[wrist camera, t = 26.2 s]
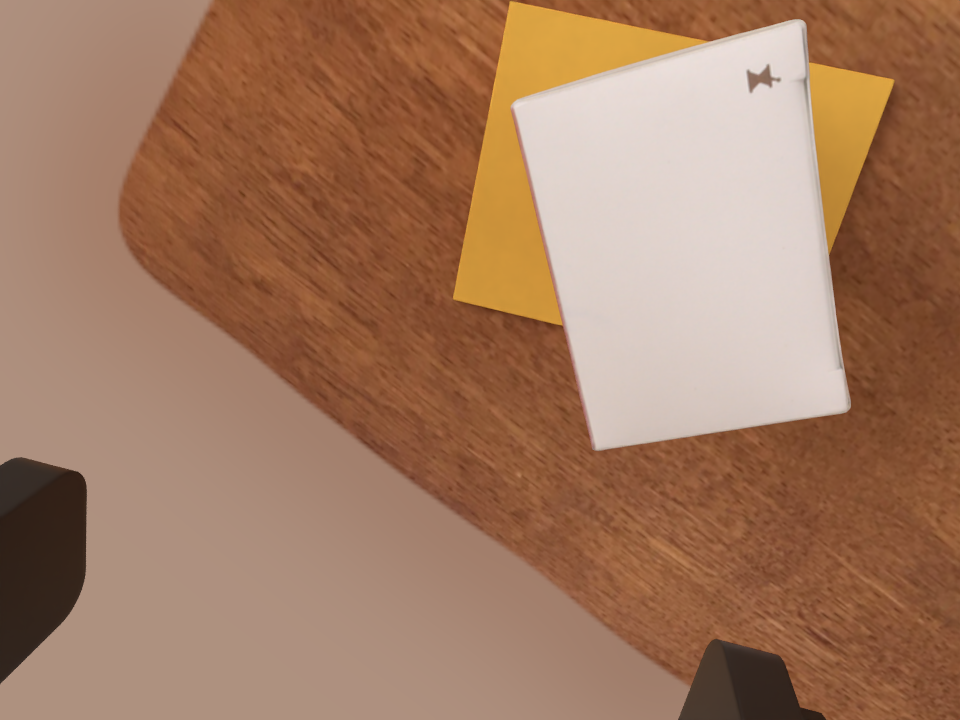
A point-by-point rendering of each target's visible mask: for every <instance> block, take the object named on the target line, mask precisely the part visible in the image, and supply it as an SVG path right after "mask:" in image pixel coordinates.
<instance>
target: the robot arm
mask: <svg viewBox="0 0 960 720" xmlns="http://www.w3.org/2000/svg"><path fill="white" fill-rule="evenodd" d="M86 501H87V489H86V482H85V479H84V477H83V476H82V475H81V474H80V473H79V472H76V471H73V470H69V469H65V468H61V467H57V466H53V465H49V464H45V463H41V462H38V461H34V460H29V459H26V458H22V457H21V458H14V459H11V460H9V461H7V462H5V463H4V464H2V465H0V683H1V682H2V681H4V680H5V679H6V677H8V676H9V675H10V674H11V673H12V672H13V671H14V670H15V669H16V668H17V667H18V666H19V665H20V664H21V663H22V662H23V661H24V660H25V659H26V658H27V657H28V656H29V655H30V654H31V653H32V652H33V651H34V650H35V649H36V648H37V647H38V646H39V645H40V644H41V643H42V642H43V641H44V640H45V639H46V638H47V637H48V636H49V635H50V634H51V633H52V632H53V631H54V630H55V629H56V628H57V627H58V626H59V625H60V624H61V623H62V622H63V621H64V620H65V619H66V617H67V616H68V615H69V613H70V612H71V610H72V609H73V607H74V605H75V603H76V601H77V599H78V597H79V595H80V592H81V590H82V587H83V583H84V579H85V572H86ZM678 720H826V719H825V717H824V716H823V715H822V714H821V713H819V712H815V711H812V710H808V709H804V708H800V706H799V703H798V700H797V697H796V694H795V692H794V689H793V686H792V683H791V680H790V677H789V674H788V671H787V669H786V666H785V664H784V661H783V660H782V658H781V657H780V656H779V655H776V654H772V653H768V652H764V651H761V650H757V649H753V648H749V647H745V646H741V645H737V644H734V643H730V642H726V641H722V640H718V639H714V640H713V641H711V642H710V644H709V645H708V647H707V648H706V650H705V653H704V655H703V658H702V660H701V663H700V665H699V668H698V670H697V673H696V676H695V678H694V681H693V683H692V686H691V688H690V691H689V694H688V696H687V699H686V702H685V704H684V706H683V709H682V711H681V714H680V717H679V719H678Z"/></svg>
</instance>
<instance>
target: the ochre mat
mask: <svg viewBox="0 0 960 720" xmlns="http://www.w3.org/2000/svg"><path fill="white" fill-rule="evenodd" d="M707 42H708V41H703V40H698V39H694V38H689V37H684V36H679V35H674V34H669V33H664V32H659V31H655V30H650V29H645V28H640V27H635V26H630V25H625V24H620V23H615V22H611V21H606V20H601V19H596V18H591V17H586V16H581V15H576V14H571V13H567V12H562V11H557V10H552V9H547V8H542V7H537V6H532V5H528V4H523V3H518V2H513V1H511V2H510V4H509V9H508V14H507V20H506V25H505V30H504V35H503V40H502V46H501V51H500V56H499V61H498V66H497V72H496V77H495V82H494V87H493V92H492V98H491V103H490V108H489V113H488V118H487V124H486V129H485V134H484V139H483V144H482V150H481V155H480V160H479V165H478V170H477V176H476V181H475V186H474V191H473V196H472V201H471V207H470V212H469V217H468V222H467V227H466V233H465V238H464V243H463V248H462V253H461V259H460V264H459V269H458V274H457V279H456V285H455V290H454V295H453V300H457V301H461V302H465V303H469V304H473V305H477V306H482V307H486V308H490V309H494V310H498V311H502V312H507V313H511V314H515V315H519V316H523V317H527V318H532V319H536V320H540V321H544V322H548V323H553V324H557V325H561V326H563V324H562V320H561V316H560V312H559V308H558V304H557V299H556V295H555V291H554V287H553V283H552V279H551V275H550V270H549V266H548V262H547V258H546V254H545V250H544V246H543V242H542V237H541V233H540V229H539V225H538V221H537V217H536V212H535V208H534V204H533V200H532V195H531V191H530V187H529V183H528V178H527V174H526V170H525V166H524V162H523V158H522V154H521V150H520V146H519V142H518V137H517V133H516V129H515V125H514V120H513V117H512V113H511V109H510V108H511V105H512V104H513V102H515V101H516V100H517V99H520V98H523V97H526V96H529V95H532V94H535V93H538V92H542V91H545V90H548V89H551V88H554V87H557V86H561V85H564V84H567V83H570V82H573V81H576V80H580V79H583V78H586V77H589V76H592V75H596V74H599V73H602V72H605V71H609V70H612V69H616V68H619V67H623V66H626V65H630V64H633V63H636V62H640V61H643V60H647V59H650V58H654V57H657V56H661V55H664V54H668V53H671V52H674V51H678V50H682V49H685V48H689V47H693V46H696V45H700V44H704V43H707ZM809 71H810V92H811V105H812V114H813V124H814V135H815V145H816V154H817V162H818V171H819V179H820V188H821V197H822V205H823V214H824V223H825V231H826V239H827V246H828V254H830V251H831V249H832V246H833V243H834V241H835V238H836V235H837V233H838V230H839V227H840V225H841V222H842V220H843V217H844V214H845V212H846V209H847V206H848V204H849V201H850V198H851V196H852V193H853V190H854V188H855V185H856V182H857V180H858V177H859V175H860V172H861V169H862V167H863V164H864V161H865V159H866V156H867V153H868V151H869V148H870V145H871V143H872V140H873V137H874V135H875V132H876V130H877V127H878V124H879V122H880V119H881V116H882V114H883V111H884V108H885V106H886V103H887V100H888V98H889V95H890V93H891V90H892V87H893V85H894V82H895V80H894V79H889V78H884V77H879V76H874V75H869V74H865V73H860V72H855V71H850V70H845V69H840V68H835V67H830V66H825V65H821V64H816V63H811V62H809Z"/></svg>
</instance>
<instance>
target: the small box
mask: <svg viewBox="0 0 960 720" xmlns="http://www.w3.org/2000/svg"><path fill="white" fill-rule="evenodd" d="M510 109H511V113H512V117H513V120H514V125H515V129H516V133H517V137H518V142H519V146H520V150H521V154H522V158H523V162H524V166H525V170H526V174H527V178H528V183H529V187H530V191H531V195H532V200H533V204H534V208H535V212H536V217H537V221H538V225H539V229H540V233H541V237H542V242H543V246H544V250H545V254H546V258H547V262H548V266H549V270H550V275H551V279H552V283H553V287H554V291H555V295H556V299H557V304H558V308H559V312H560V316H561V320H562V324H563V328H564V332H565V337H566V341H567V345H568V349H569V353H570V357H571V361H572V365H573V369H574V373H575V378H576V382H577V386H578V391H579V395H580V399H581V403H582V407H583V411H584V415H585V419H586V423H587V427H588V432H589V436H590V440H591V445H592V449H593V450H596V451H601V450H606V449H613V448H619V447H626V446H632V445H639V444H645V443H652V442H658V441H665V440H672V439H678V438H685V437H691V436H698V435H704V434H711V433H717V432H724V431H730V430H737V429H743V428H750V427H757V426H763V425H770V424H776V423H783V422H789V421H795V420H802V419H808V418H815V417H821V416H828V415H835V414H842V413H845V412H847V411H848V410H849V409H850V408H851V400H850V395H849V391H848V386H847V380H846V374H845V369H844V364H843V359H842V352H841V346H840V339H839V332H838V325H837V318H836V310H835V302H834V294H833V286H832V277H831V269H830V261H829V254H828V246H827V239H826V231H825V223H824V214H823V205H822V197H821V188H820V179H819V171H818V162H817V154H816V145H815V135H814V124H813V114H812V105H811V92H810V71H809V58H808V44H807V27H806V23H805V22H804V21H803V20H800V19H796V20H790V21H786V22H782V23H779V24H775V25H772V26H768V27H764V28H760V29H756V30H752V31H748V32H744V33H740V34H737V35H733V36H729V37H726V38H722V39H718V40H715V41H711V42H707V43H704V44H700V45H696V46H693V47H689V48H685V49H682V50H678V51H674V52H671V53H668V54H664V55H661V56H657V57H654V58H650V59H647V60H643V61H640V62H636V63H633V64H630V65H626V66H623V67H619V68H616V69H612V70H609V71H605V72H602V73H599V74H596V75H592V76H589V77H586V78H583V79H580V80H576V81H573V82H570V83H567V84H564V85H561V86H557V87H554V88H551V89H548V90H545V91H542V92H538V93H535V94H532V95H529V96H526V97H523V98H520V99H517V100H516V101H515V102H513V104H512V105H511V108H510Z"/></svg>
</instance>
